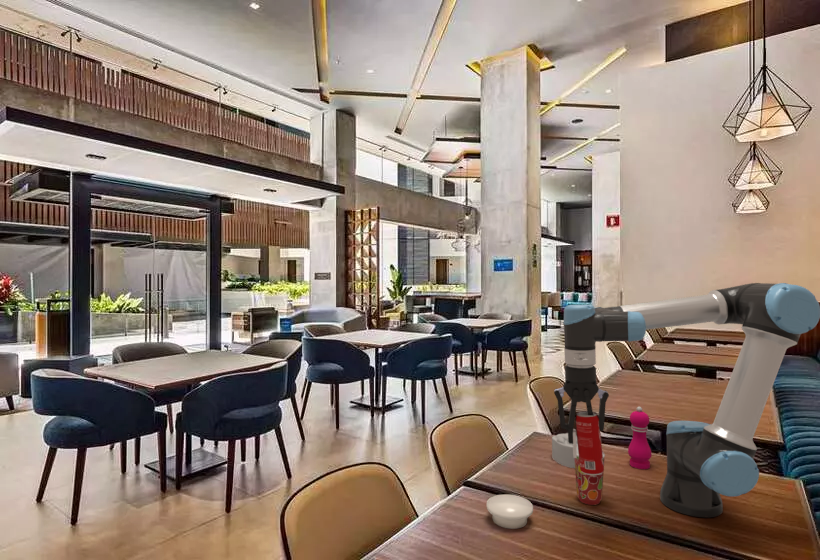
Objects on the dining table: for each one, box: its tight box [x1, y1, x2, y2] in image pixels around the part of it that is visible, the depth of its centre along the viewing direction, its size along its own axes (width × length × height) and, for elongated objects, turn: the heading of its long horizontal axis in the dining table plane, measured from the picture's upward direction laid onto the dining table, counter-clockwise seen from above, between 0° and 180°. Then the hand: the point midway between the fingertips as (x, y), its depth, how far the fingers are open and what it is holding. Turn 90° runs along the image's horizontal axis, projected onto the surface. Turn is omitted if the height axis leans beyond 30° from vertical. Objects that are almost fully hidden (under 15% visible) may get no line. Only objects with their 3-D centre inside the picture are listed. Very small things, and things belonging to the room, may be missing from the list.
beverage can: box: [574, 410, 605, 475], centre depth 123 cm, size 6×6×15 cm
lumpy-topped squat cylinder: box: [551, 432, 578, 469], centre depth 167 cm, size 10×13×9 cm
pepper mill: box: [627, 406, 652, 470], centre depth 163 cm, size 7×7×20 cm
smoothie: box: [574, 445, 606, 506], centre depth 138 cm, size 8×8×20 cm
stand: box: [486, 494, 534, 530], centre depth 128 cm, size 12×12×4 cm
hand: (582, 456), depth 123 cm, fingers open, 3 cm apart
